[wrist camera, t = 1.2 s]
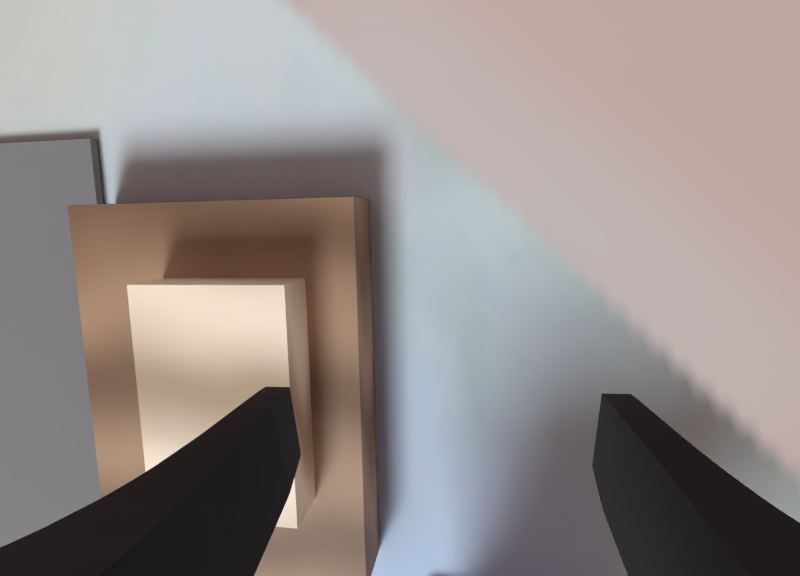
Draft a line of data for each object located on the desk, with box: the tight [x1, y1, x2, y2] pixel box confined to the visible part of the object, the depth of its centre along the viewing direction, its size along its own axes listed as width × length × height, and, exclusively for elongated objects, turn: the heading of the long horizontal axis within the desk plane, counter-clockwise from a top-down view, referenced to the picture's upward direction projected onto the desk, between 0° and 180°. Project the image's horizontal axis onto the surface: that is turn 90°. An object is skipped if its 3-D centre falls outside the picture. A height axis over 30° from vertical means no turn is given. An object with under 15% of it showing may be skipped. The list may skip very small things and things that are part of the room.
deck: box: [67, 197, 379, 576], centre depth 21 cm, size 16×12×2 cm
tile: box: [127, 278, 316, 529], centre depth 18 cm, size 9×6×2 cm, turn 1°
